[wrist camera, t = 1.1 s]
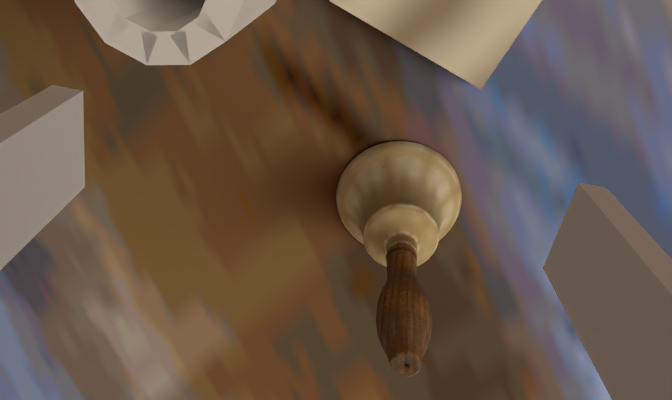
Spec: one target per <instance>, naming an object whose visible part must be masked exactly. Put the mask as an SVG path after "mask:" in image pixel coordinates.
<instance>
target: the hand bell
mask: <svg viewBox="0 0 672 400" xmlns="http://www.w3.org/2000/svg"><path fill="white" fill-rule="evenodd" d="M461 202H462V192H461V186H460V182H459V179H458V176H457V174H456V172H455V170H454V169H453V167H452V166H451V165H450V163H449V162H448V161H447V160H446V159H445V158H444V157H443V156H442V155H440V154H439V153H438V152H436V151H434V150H432V149H431V148H429V147H427V146H425V145H422V144H418V143H414V142H408V141H392V142H386V143H382V144H378V145H375V146H373V147H371V148H369V149H366V150H365V151H363V152H362V153H360V154H359V155H358V156H356V157H355V158H354V159H353V160H352V161H351V162H350V163H349V165H348V166H347V167H346V169H345V170H344V172H343V174H342V175H341V177H340V180H339V183H338V186H337V192H336V204H337V210H338V213H339V216H340V219H341V221H342V223H343V224H344V226H345V228H346V229H347V230H348V231H349V233H350V234H351V235H352V236H353V237H354V238H356V239H357V240H358V241H359V242H361V243H362V244H364V245H365V248H366V250H367V252H368V253H369V254H370V256H371V257H372V258H373V259H374V260H375V261H377V262H378V263H379V264H381V265H383V266H385V267H387V276H388V278H387V282H386V284H385V286H384V287H383V289H382V291H381V294H380V297H379V300H378V304H377V312H376V326H377V333H378V337H379V340H380V343H381V345H382V347H383V349H384V351H385V353H386V355H387V357H388V359H389V362H390V366H391V369H392V371H393V372H394V373H396V374H397V375H399V376H401V377H409V376H412V375H414V374H416V373H418V372H419V370H420V367H421V362H422V358H423V356H424V354H425V351H426V349H427V347H428V344H429V341H430V338H431V331H432V316H431V310H430V306H429V302H428V299H427V296H426V293H425V291H424V289H423V287H422V286H421V285H420V283H419V282H418V280H417V266H419V265H421V264H422V263H424V262H425V261H426V260H428V259H429V258H430V257H431V256H432V254H433V253H434V251H435V249H436V247H437V245H438V241H439V240H440V239H441V238H442V237H444V236H445V234H446V233H447V232H448V231H449V230H450V229H451V227H452V226H453V224H454V223H455V221H456V219H457V217H458V214H459V211H460V207H461Z"/></svg>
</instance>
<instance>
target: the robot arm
mask: <svg viewBox="0 0 672 400" xmlns="http://www.w3.org/2000/svg"><path fill="white" fill-rule="evenodd" d="M84 187H85V169H84V115H83V91H82V90H77V89H71V88H66V87H60V86H55V85H52V86H50V87H48V88H47V89H45V90H43V91H41V92H39V93H37V94H36V95H34V96H32V97H30V98H28V99H27V100H25V101H23V102H21V103H19V104H18V105H16V106H14V107H12V108H10V109H8V110H7V111H5V112H3V113H1V114H0V270H1V269H2V268H3V267H4V266H5V265H6V264H7V263H8V262H9V261H10V260H11V259H12V258H13V257H14V256H15V255H16V254H17V253H18V252H19V251H20V250H21V249H22V248H23V247H24V246H25V245H26V244H27V243H28V242H29V241H30V240H31V239H32V238H33V237H34V236H35V235H36V234H37V233H38V232H39V231H41V230H42V229H43V228H44V227H45V226H46V225H47V224H48V223H49V222H50V221H51V220H52V219H53V218H54V217H55V216H56V215H57V214H58V213H59V212H60V211H61V210H62V209H63V208H64V207H65V206H66V205H67V204H68V203H69V202H70V201H71V200H72V199H73V198H74V197H75V196H76V195H77V194H78V193H79V192H80V191H81V190H82V189H83V188H84ZM543 269H544V271H545V273H546V275H547V277H548V278H549V280H550V282H551V284H552V286H553V288H554V290H555V292H556V294H557V296H558V297H559V299H560V301H561V303H562V305H563V307H564V309H565V311H566V313H567V315H568V317H569V318H570V320H571V322H572V324H573V326H574V328H575V330H576V332H577V334H578V336H579V337H580V339H581V341H582V343H583V345H584V347H585V349H586V351H587V353H588V355H589V357H590V358H591V360H592V362H593V364H594V366H595V368H596V370H597V372H598V374H599V376H600V378H601V379H602V381H603V383H604V385H605V387H606V389H607V391H608V393H609V395H610V397H611V398H612V400H672V259H671V258H670V257H669V256H668V255H667V254H666V253H665V252H664V251H663V250H662V249H661V247H660V246H659V245H658V244H657V243H656V242H655V241H654V240H653V239H652V238H651V236H650V235H649V234H648V233H647V232H646V231H645V230H644V229H643V228H642V227H641V226H640V224H639V223H638V222H637V221H636V220H635V219H634V218H633V217H632V216H631V215H630V213H629V212H628V211H627V210H626V209H625V208H624V207H623V206H622V205H621V204H620V202H619V201H618V200H617V199H616V198H615V197H614V196H613V195H612V194H611V193H610V192H609V190H608V189H607V188H604V187H598V186H593V185H588V184H582V183H578V185H577V188H576V190H575V193H574V195H573V197H572V200H571V202H570V205H569V207H568V209H567V212H566V214H565V217H564V219H563V221H562V224H561V226H560V229H559V231H558V234H557V236H556V238H555V241H554V243H553V246H552V248H551V250H550V253H549V255H548V258H547V260H546V262H545V265H544V267H543Z"/></svg>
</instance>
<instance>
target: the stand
mask: <svg viewBox="0 0 672 400" xmlns="http://www.w3.org/2000/svg"><path fill="white" fill-rule="evenodd" d="M329 1H330V2H332V3H334V4H335V5H337V6H339V7H341V8H342V9H344V10H346V11H347V12H349V13H351V14H353V15H354V16H356V17H358V18H359V19H361V20H363V21H365V22H366V23H368V24H370V25H371V26H373V27H375V28H377V29H378V30H380V31H382V32H383V33H385V34H387V35H388V36H390V37H392V38H394V39H395V40H397V41H399V42H400V43H402V44H404V45H406V46H407V47H409V48H411V49H412V50H414V51H416V52H418V53H419V54H421V55H423V56H424V57H426V58H428V59H430V60H431V61H433V62H435V63H436V64H438V65H440V66H442V67H443V68H445V69H447V70H448V71H450V72H452V73H454V74H455V75H457V76H459V77H460V78H462V79H464V80H465V81H467V82H469V83H471V84H472V85H474V86H476V87H477V88H479V89H482V87H483V86H484V84H485V83H486V81H487V80H488V78H489V77H490V75H491V74H492V73H493V71H494V70H495V68H496V67H497V65H498V64H499V62H500V61H501V59H502V58H503V56H504V55H505V53H506V52H507V51H508V49H509V48H510V46H511V45H512V43H513V42H514V40H515V39H516V37H517V36H518V34H519V33H520V31H521V30H522V29H523V27H524V26H525V24H526V23H527V21H528V20H529V18H530V17H531V15H532V14H533V12H534V11H535V9H536V8H537V7H538V5H539V4H540V2H541V1H542V0H329Z"/></svg>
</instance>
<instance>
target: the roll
mask: <svg viewBox="0 0 672 400" xmlns="http://www.w3.org/2000/svg"><path fill="white" fill-rule="evenodd" d="M275 2H276V0H75V3H76V5H77V6H78V7H79V9H80V10H81V11H82V13H83V14H84V15H85V17H86V18H87V19H88V21H89V22H90V23H91V25H92V26H93V27H94V29H95V30H96V31H97V33H98V34H99V35H100V37H101V38H102V39H103V41H104V42H105V43H106V44H108V45H110V46H112V47H114V48H116V49H117V50H119V51H121V52H123V53H125V54H127V55H129V56H131V57H132V58H134V59H136V60H138V61H140V62H142V63H144V64H146V65H191V64H192V63H194V62H195V61H197V60H198V59H200V58H201V57H203V56H204V55H206V54H207V53H209V52H211V51H212V50H214V49H215V48H217V47H218V46H220V45H221V44H223V43H224V42H226V41H227V40H228V39H230V38H231V37H232V36H234V35H235V34H236V33H238V32H239V31H240V30H241V29H243V28H244V27H245V26H247V25H248V24H249V23H251V22H252V21H253V20H254V19H256V18H257V17H258V16H260V15H261V14H262V13H263V12H265V11H266V10H267V9H269V8H270V7H271V6H273V5H274V4H275Z"/></svg>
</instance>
